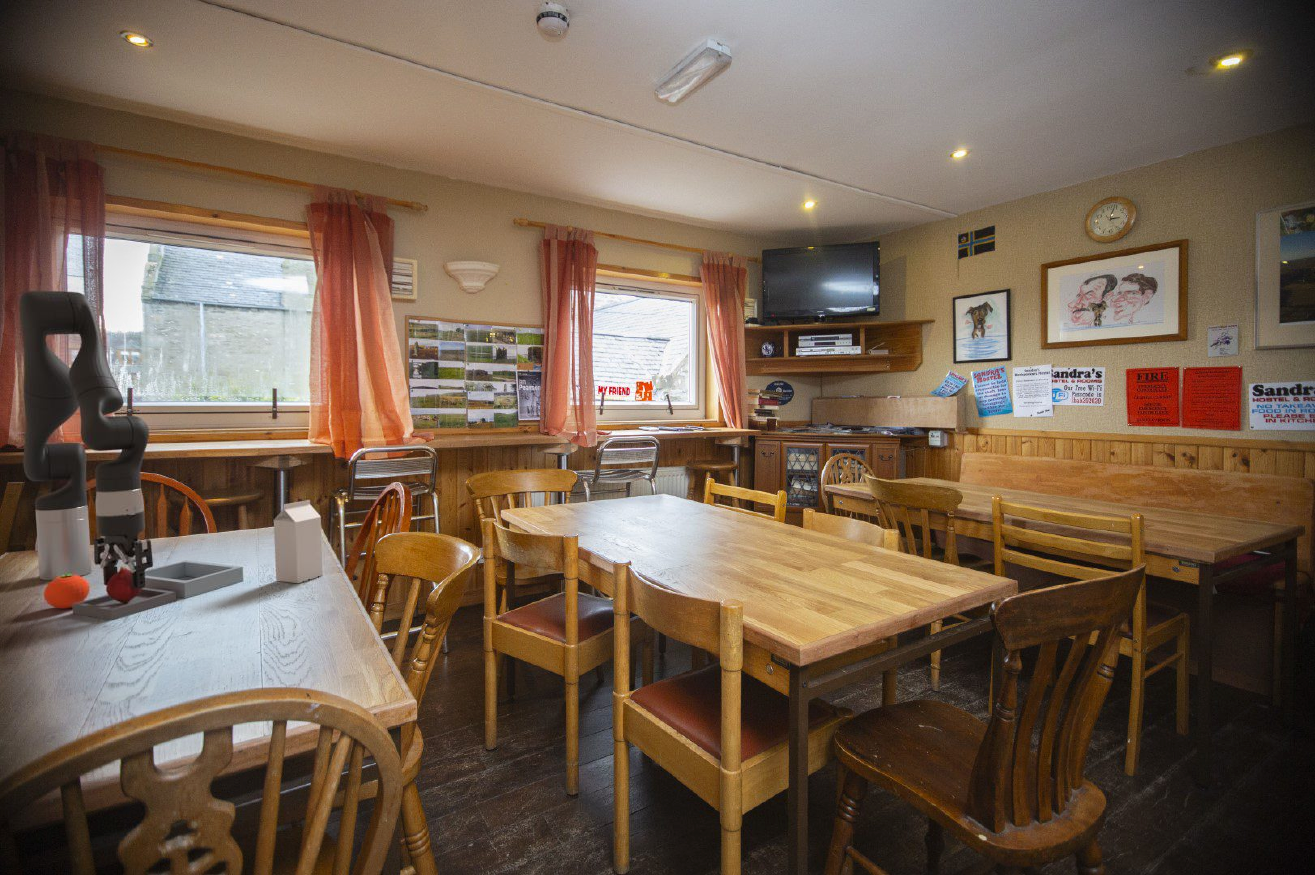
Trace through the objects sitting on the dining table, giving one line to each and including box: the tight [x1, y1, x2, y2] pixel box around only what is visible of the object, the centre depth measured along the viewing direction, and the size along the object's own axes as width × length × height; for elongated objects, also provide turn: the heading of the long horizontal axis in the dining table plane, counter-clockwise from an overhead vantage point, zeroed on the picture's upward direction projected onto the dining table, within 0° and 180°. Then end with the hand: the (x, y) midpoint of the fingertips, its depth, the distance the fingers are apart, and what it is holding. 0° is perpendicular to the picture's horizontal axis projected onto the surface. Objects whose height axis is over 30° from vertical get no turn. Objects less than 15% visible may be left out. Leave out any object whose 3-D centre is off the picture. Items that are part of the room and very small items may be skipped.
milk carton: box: [273, 499, 324, 584], centre depth 148 cm, size 7×7×19 cm
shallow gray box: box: [144, 560, 244, 599], centre depth 143 cm, size 19×13×4 cm
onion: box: [105, 565, 142, 603], centre depth 128 cm, size 6×6×8 cm
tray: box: [71, 588, 177, 621], centre depth 128 cm, size 12×12×2 cm
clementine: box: [43, 574, 91, 609], centre depth 128 cm, size 8×7×7 cm
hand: (124, 586), depth 128 cm, fingers open, 8 cm apart
